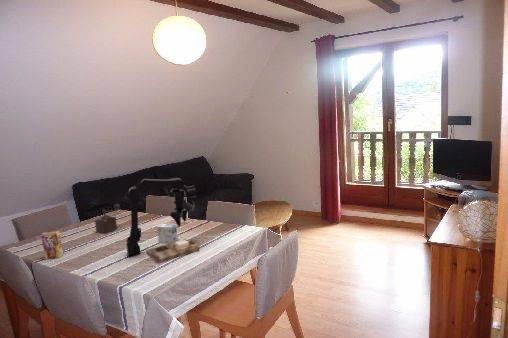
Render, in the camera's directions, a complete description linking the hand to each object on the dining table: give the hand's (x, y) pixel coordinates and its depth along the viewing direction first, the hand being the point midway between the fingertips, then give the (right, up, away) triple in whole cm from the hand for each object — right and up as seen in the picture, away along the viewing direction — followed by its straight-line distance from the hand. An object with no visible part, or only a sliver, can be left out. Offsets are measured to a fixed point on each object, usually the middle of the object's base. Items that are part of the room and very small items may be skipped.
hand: (182, 223), depth 217 cm
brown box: (-61, -11, +42) cm, 75 cm away
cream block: (+2, -13, -9) cm, 16 cm away
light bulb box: (-11, -13, +11) cm, 20 cm away
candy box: (-76, -20, -3) cm, 79 cm away
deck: (-4, -15, -8) cm, 18 cm away
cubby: (+4, -13, -8) cm, 15 cm away
